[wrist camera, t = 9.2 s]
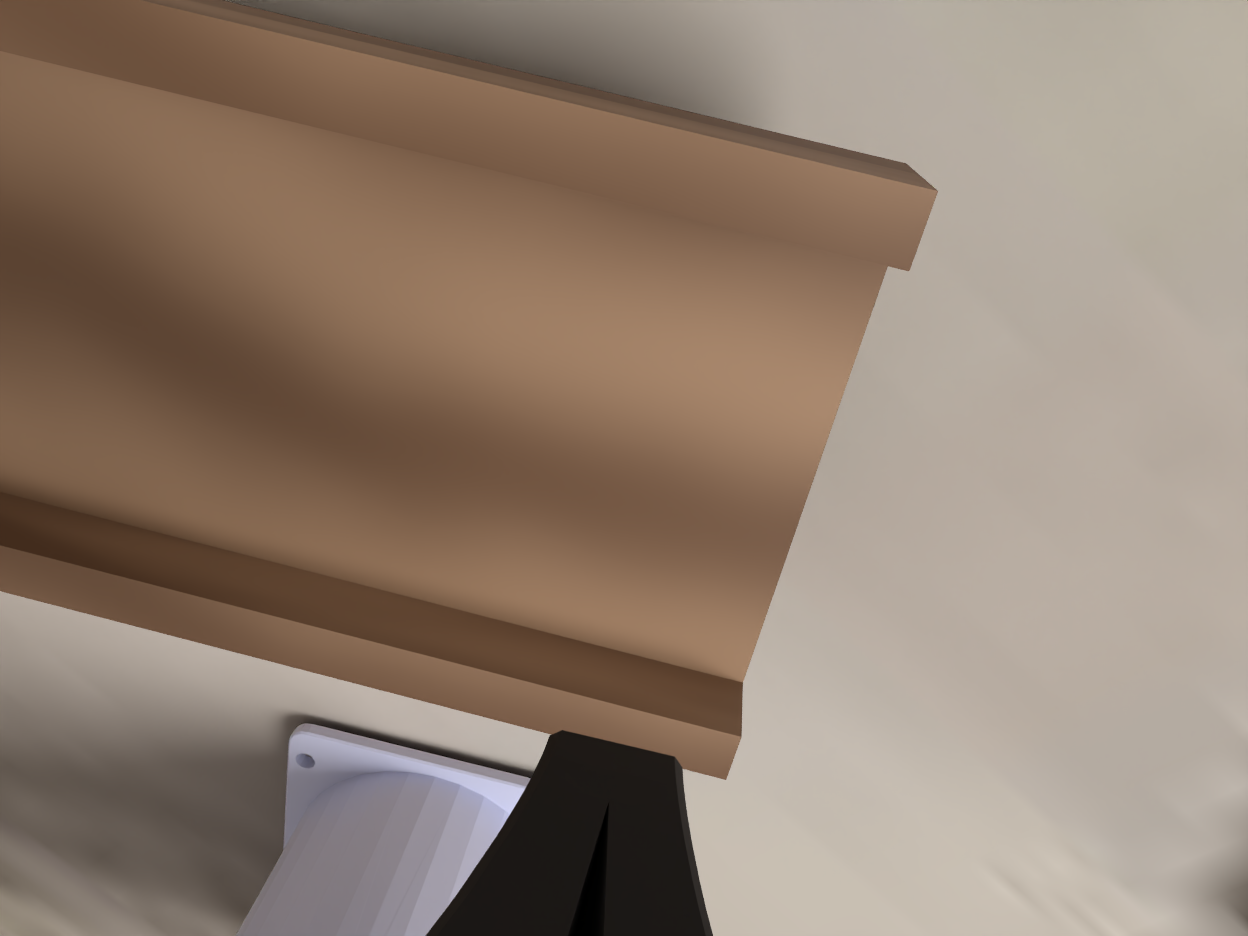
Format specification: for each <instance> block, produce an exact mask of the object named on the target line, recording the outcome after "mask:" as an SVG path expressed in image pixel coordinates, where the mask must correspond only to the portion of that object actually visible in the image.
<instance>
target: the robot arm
mask: <svg viewBox="0 0 1248 936" xmlns="http://www.w3.org/2000/svg"><path fill="white" fill-rule="evenodd" d="M306 754H308V755H310V756H311V757H309V756H307V755H306ZM236 936H713V934H712V930H711V926H710V922H709V919H708V915H707V911H706V907H705V903H704V898H703V894H702V890H701V885H700V881H699V876H698V871H697V866H696V861H695V856H694V851H693V846H692V841H691V835H690V829H689V823H688V817H687V810H686V803H685V794H684V785H683V771H682V766H681V765H680V763H679V762H678V760H677V759H676V758H675V756H671V755H667V754H662V753H658V752H654V751H650V750H645V749H641V748H637V747H633V746H628V745H624V744H620V743H616V742H611V741H607V740H603V739H599V738H594V737H590V736H586V735H582V734H577V733H573V732H569V731H564V730H561V731H559V732H557V733H554V734H552V735H550V737H549V739H548V742H547V744H546V747H545V750H544V752H543V754H542V757H541V759H540V761H539V763H538V765H537V767H536V769H535V771H534V773H533V775H532V777H531V778H528V777H524V776H520V775H516V774H512V773H508V772H504V771H500V770H496V769H492V768H488V767H484V766H480V765H476V764H472V763H468V762H464V761H460V760H456V759H452V758H448V757H444V756H439V755H435V754H431V753H427V752H423V751H419V750H415V749H411V748H407V747H403V746H399V745H395V744H391V743H387V742H383V741H379V740H375V739H371V738H367V737H363V736H359V735H355V734H351V733H347V732H343V731H339V730H335V729H331V728H327V727H323V726H319V725H315V724H307V723H305V724H301V725H299V726H298V727H296V728H295V730H294V731H293V733H292V734H291V736H290V739H289V743H288V763H287V784H286V804H285V825H284V845H283V852H282V854H281V856H280V857H279V859H278V861H277V863H276V865H275V866H274V868H273V870H272V872H271V873H270V875H269V877H268V879H267V881H266V882H265V884H264V886H263V888H262V889H261V891H260V893H259V895H258V897H257V898H256V900H255V902H254V904H253V905H252V907H251V909H250V911H249V913H248V914H247V916H246V918H245V920H244V922H243V923H242V925H241V927H240V929H239V930H238V932H237V934H236Z"/></svg>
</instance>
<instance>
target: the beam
mask: <svg viewBox="0 0 1248 936" xmlns="http://www.w3.org/2000/svg"><path fill="white" fill-rule="evenodd" d="M937 193H938V191H937V190H936V189H935V188H934V187H933V186H932V185H930V184H929V183H928V182H927V181H926V180H925V179H923V178H922V177H921V176H920V175H919V174H918V173H917V172H915V171H914V170H913V169H912V168H911V167H910V166H908V165H907V164H906V163H902V162H897V161H893V160H889V159H885V158H881V157H876V156H872V155H868V154H864V153H860V152H856V151H851V150H847V149H843V148H839V147H835V146H830V145H826V144H822V143H818V142H814V141H809V140H805V139H801V138H797V137H793V136H789V135H784V134H780V133H776V132H772V131H768V130H763V129H759V128H755V127H751V126H747V125H743V124H738V123H734V122H730V121H726V120H722V119H717V118H713V117H709V116H705V115H701V114H696V113H692V112H688V111H684V110H680V109H676V108H671V107H667V106H663V105H659V104H655V103H650V102H646V101H642V100H638V99H634V98H629V97H625V96H621V95H617V94H613V93H609V92H604V91H600V90H596V89H592V88H588V87H583V86H579V85H575V84H571V83H567V82H562V81H558V80H554V79H550V78H546V77H542V76H537V75H533V74H529V73H525V72H521V71H516V70H512V69H508V68H504V67H500V66H495V65H491V64H487V63H483V62H479V61H475V60H470V59H466V58H462V57H458V56H454V55H449V54H445V53H441V52H437V51H433V50H428V49H424V48H420V47H416V46H412V45H408V44H403V43H399V42H395V41H391V40H387V39H382V38H378V37H374V36H370V35H366V34H361V33H357V32H353V31H349V30H345V29H341V28H336V27H332V26H328V25H324V24H320V23H315V22H311V21H307V20H303V19H299V18H295V17H290V16H286V15H282V14H278V13H274V12H269V11H265V10H261V9H257V8H253V7H248V6H244V5H240V4H236V3H232V2H228V1H223V0H0V591H2V592H6V593H10V594H14V595H17V596H21V597H25V598H29V599H33V600H37V601H41V602H44V603H48V604H52V605H56V606H60V607H64V608H67V609H71V610H75V611H79V612H83V613H87V614H91V615H94V616H98V617H102V618H106V619H110V620H114V621H117V622H121V623H125V624H129V625H133V626H137V627H140V628H144V629H148V630H152V631H156V632H160V633H164V634H167V635H171V636H175V637H179V638H183V639H187V640H190V641H194V642H198V643H202V644H206V645H210V646H214V647H217V648H221V649H225V650H229V651H233V652H237V653H240V654H244V655H248V656H252V657H256V658H260V659H264V660H267V661H271V662H275V663H279V664H283V665H287V666H290V667H294V668H298V669H302V670H306V671H310V672H313V673H317V674H321V675H325V676H329V677H333V678H337V679H340V680H344V681H348V682H352V683H356V684H360V685H363V686H367V687H371V688H375V689H379V690H383V691H387V692H390V693H394V694H398V695H402V696H406V697H410V698H413V699H417V700H421V701H425V702H429V703H433V704H437V705H440V706H444V707H448V708H452V709H456V710H460V711H463V712H467V713H471V714H475V715H479V716H483V717H486V718H490V719H494V720H498V721H502V722H506V723H510V724H513V725H517V726H521V727H525V728H529V729H533V730H536V731H540V732H544V733H548V734H554V733H557V732H559V731H561V730H564V731H569V732H573V733H577V734H582V735H586V736H590V737H594V738H599V739H603V740H607V741H611V742H616V743H620V744H624V745H628V746H633V747H637V748H641V749H645V750H650V751H654V752H658V753H662V754H667V755H671V756H675V758H676V759H677V760H678V762H679V763H680V765H681V766H682V768H683V769H686V770H690V771H694V772H698V773H702V774H706V775H709V776H713V777H717V778H721V779H725V780H726V778H727V776H728V773H729V770H730V767H731V764H732V762H733V759H734V756H735V753H736V751H737V748H738V745H739V742H740V739H741V732H742V691H743V680H744V677H745V675H746V672H747V669H748V666H749V663H750V660H751V657H752V654H753V652H754V649H755V646H756V643H757V640H758V637H759V634H760V631H761V629H762V626H763V623H764V620H765V617H766V614H767V611H768V609H769V606H770V603H771V600H772V597H773V594H774V591H775V588H776V586H777V583H778V580H779V577H780V574H781V571H782V568H783V565H784V563H785V560H786V557H787V554H788V551H789V548H790V545H791V542H792V540H793V537H794V534H795V531H796V528H797V525H798V522H799V519H800V517H801V514H802V511H803V508H804V505H805V502H806V499H807V496H808V494H809V491H810V488H811V485H812V482H813V479H814V476H815V474H816V471H817V468H818V465H819V462H820V459H821V456H822V453H823V451H824V448H825V445H826V442H827V439H828V436H829V433H830V430H831V428H832V425H833V422H834V419H835V416H836V413H837V410H838V407H839V405H840V402H841V399H842V396H843V393H844V390H845V387H846V384H847V382H848V379H849V376H850V373H851V370H852V367H853V364H854V361H855V359H856V356H857V353H858V350H859V347H860V344H861V341H862V339H863V336H864V333H865V330H866V327H867V324H868V321H869V318H870V316H871V313H872V310H873V307H874V304H875V301H876V298H877V295H878V293H879V290H880V287H881V284H882V281H883V278H884V275H885V272H886V270H887V267H888V266H890V267H894V268H898V269H902V270H906V271H909V270H910V268H911V265H912V262H913V259H914V256H915V254H916V251H917V248H918V245H919V243H920V240H921V237H922V234H923V231H924V229H925V226H926V223H927V220H928V218H929V215H930V212H931V209H932V206H933V204H934V201H935V198H936V195H937Z"/></svg>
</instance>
